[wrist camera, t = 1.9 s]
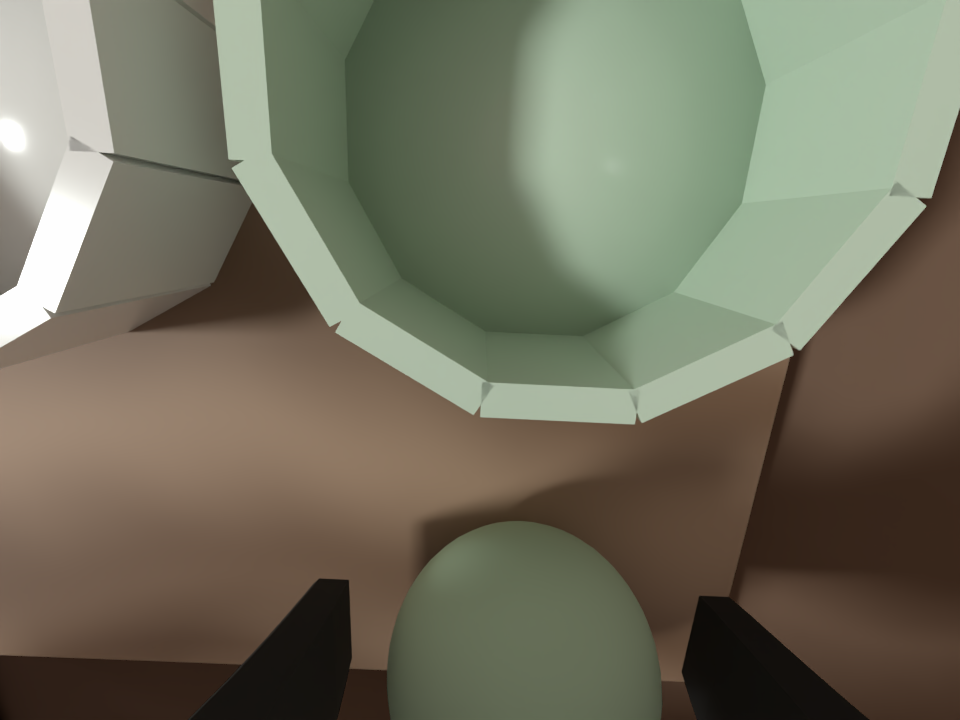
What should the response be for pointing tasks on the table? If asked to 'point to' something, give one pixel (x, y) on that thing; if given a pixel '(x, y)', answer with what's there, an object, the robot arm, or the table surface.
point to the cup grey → (108, 168)
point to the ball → (522, 634)
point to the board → (322, 481)
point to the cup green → (585, 180)
